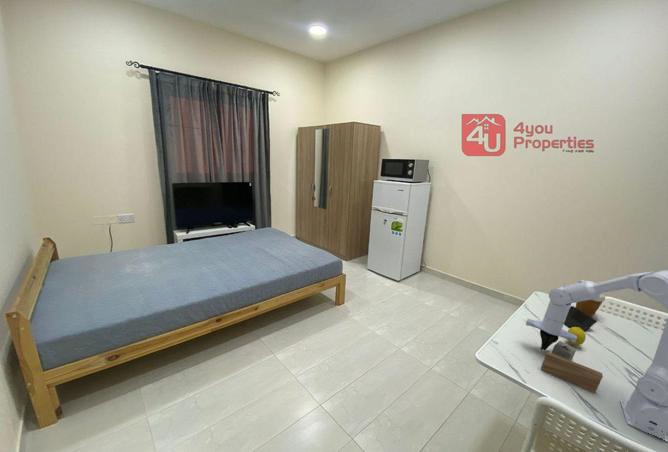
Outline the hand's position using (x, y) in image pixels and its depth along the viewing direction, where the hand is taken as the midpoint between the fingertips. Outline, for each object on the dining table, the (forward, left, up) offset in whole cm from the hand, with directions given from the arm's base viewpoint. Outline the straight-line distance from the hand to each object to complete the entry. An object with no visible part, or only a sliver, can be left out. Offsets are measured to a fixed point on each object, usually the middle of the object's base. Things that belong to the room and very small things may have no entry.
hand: (543, 348), depth 103 cm
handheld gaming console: (+31, -11, -2) cm, 33 cm away
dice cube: (+1, -6, -2) cm, 6 cm away
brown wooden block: (-11, -7, -1) cm, 13 cm away
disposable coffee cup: (+44, -16, -2) cm, 47 cm away
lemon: (+13, -10, -2) cm, 16 cm away
